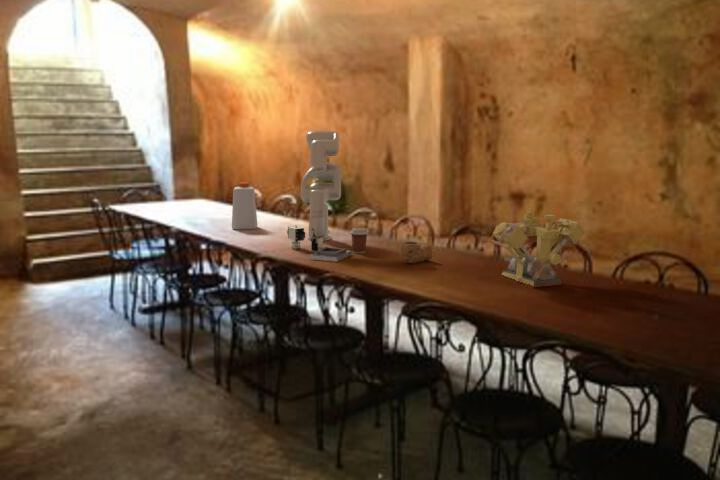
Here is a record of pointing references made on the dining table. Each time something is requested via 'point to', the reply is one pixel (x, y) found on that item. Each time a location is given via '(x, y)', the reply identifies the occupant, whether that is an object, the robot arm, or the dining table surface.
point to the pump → (319, 243)
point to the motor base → (330, 254)
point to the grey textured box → (416, 251)
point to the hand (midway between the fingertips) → (317, 249)
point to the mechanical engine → (547, 246)
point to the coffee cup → (359, 239)
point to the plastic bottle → (244, 208)
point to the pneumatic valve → (296, 235)
